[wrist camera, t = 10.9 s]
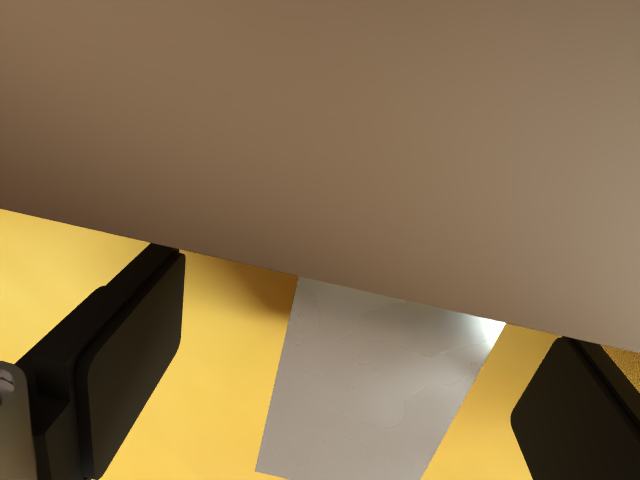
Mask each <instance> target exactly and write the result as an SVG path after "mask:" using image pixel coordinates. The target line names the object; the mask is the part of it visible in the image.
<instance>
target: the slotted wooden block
mask: <svg viewBox="0 0 640 480" xmlns="http://www.w3.org/2000/svg"><path fill="white" fill-rule="evenodd" d="M0 209H4V210H9V211H13V212H18V213H22V214H26V215H31V216H35V217H40V218H44V219H49V220H53V221H57V222H62V223H66V224H71V225H75V226H79V227H84V228H88V229H93V230H97V231H102V232H106V233H110V234H115V235H119V236H124V237H128V238H132V239H137V240H141V241H146V242H150V243H155V244H159V245H163V246H168V247H172V248H177V249H181V250H185V251H190V252H194V253H199V254H203V255H208V256H212V257H216V258H221V259H225V260H230V261H234V262H239V263H243V264H247V265H252V266H256V267H261V268H265V269H269V270H274V271H278V272H283V273H287V274H292V275H296V276H300V277H305V278H309V279H314V280H318V281H322V282H327V283H331V284H336V285H340V286H345V287H349V288H353V289H358V290H362V291H367V292H371V293H375V294H380V295H384V296H389V297H393V298H398V299H402V300H406V301H411V302H415V303H420V304H424V305H428V306H433V307H437V308H442V309H446V310H451V311H455V312H459V313H464V314H468V315H473V316H477V317H481V318H486V319H490V320H495V321H499V322H504V323H508V324H512V325H517V326H521V327H526V328H530V329H534V330H539V331H543V332H548V333H552V334H557V335H561V336H565V337H570V338H574V339H579V340H583V341H587V342H592V343H596V344H601V345H605V346H610V347H614V348H618V349H623V350H627V351H632V352H636V353H640V0H0Z"/></svg>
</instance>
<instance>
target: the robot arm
mask: <svg viewBox="0 0 640 480" xmlns="http://www.w3.org/2000/svg"><path fill="white" fill-rule="evenodd" d="M184 276H185V255H184V254H182V253H179V249H177V248H172V247H168V246H163V245H159V244H155V243H151V244H149V245H148V246H147V247H146V248H145V249H144V250H143V251H142V252H141V253H140V254H139V255H138V256H137V257H136V258H134V259H133V260H132V261H131V262H130V263H129V264H128V265H127V266H126V267H125V268H124V269H123V270H122V271H121V272H120V273H118V274H117V275H116V276H115V277H114V278H113V279H112V280H111V281H110V282H109V283H108V284H107V285H106V286H101V287H99V288H98V289H96V290H95V291H94V292H93V293H91V294H90V295H89V296H88V297H87V298H86V299H85V300H84V301H83V302H82V303H81V304H79V305H78V306H77V307H76V308H75V309H74V310H73V311H72V312H71V313H70V314H69V315H67V316H66V317H65V318H64V319H63V320H62V321H61V322H60V323H59V324H58V325H57V326H55V327H54V328H53V329H52V330H51V331H50V332H49V333H48V334H47V335H46V336H45V337H43V338H42V339H41V340H40V341H39V342H38V343H37V344H36V345H35V346H34V347H33V348H31V349H30V350H29V351H28V352H27V353H26V354H25V355H24V356H23V357H22V358H21V359H19V360H18V361H17V362H16V363H15V364H11V363H8V362H4V361H0V480H91V479H94V480H98V479H100V478H101V477H102V476H103V474H104V473H105V471H106V469H107V468H108V466H109V464H110V463H111V461H112V459H113V458H114V456H115V454H116V453H117V451H118V449H119V448H120V446H121V444H122V443H123V441H124V439H125V438H126V436H127V434H128V433H129V431H130V429H131V428H132V426H133V424H134V423H135V421H136V419H137V418H138V416H139V414H140V413H141V411H142V409H143V408H144V406H145V404H146V403H147V401H148V399H149V398H150V396H151V394H152V393H153V391H154V389H155V388H156V386H157V384H158V383H159V381H160V379H161V378H162V376H163V374H164V373H165V371H166V369H167V368H168V366H169V364H170V363H171V361H172V359H173V358H174V356H175V354H176V352H177V350H178V348H179V344H180V340H181V325H182V309H183V293H184ZM511 426H512V429H513V432H514V434H515V437H516V439H517V441H518V444H519V446H520V449H521V451H522V454H523V456H524V459H525V461H526V463H527V466H528V468H529V471H530V473H531V476H532V478H533V480H640V393H639V392H638V391H637V390H636V388H635V387H634V386H633V385H632V383H631V382H630V381H629V380H628V379H627V377H626V376H625V375H624V374H623V372H622V371H621V370H620V369H619V368H618V366H617V365H616V364H615V363H614V362H613V360H612V359H611V358H610V357H609V355H608V354H607V353H606V352H605V351H604V349H603V348H602V347H601V346H600V344H596V343H592V342H587V341H583V340H579V339H574V338H570V337H565V336H563V337H562V338H558V339H556V340H555V341H554V343H553V344H552V346H551V348H550V349H549V351H548V353H547V354H546V356H545V358H544V359H543V361H542V363H541V364H540V366H539V368H538V369H537V371H536V373H535V374H534V376H533V378H532V379H531V381H530V383H529V384H528V386H527V388H526V389H525V391H524V393H523V394H522V396H521V398H520V399H519V401H518V403H517V404H516V406H515V407H514V409H513V411H512V413H511Z"/></svg>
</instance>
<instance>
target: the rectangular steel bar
mask: <svg viewBox="0 0 640 480" xmlns="http://www.w3.org/2000/svg"><path fill="white" fill-rule="evenodd" d="M504 325H505V323H504V322H499V321H495V320H490V319H486V318H481V317H477V316H473V315H468V314H464V313H459V312H455V311H451V310H446V309H442V308H437V307H433V306H428V305H424V304H420V303H415V302H411V301H406V300H402V299H398V298H393V297H389V296H384V295H380V294H375V293H371V292H367V291H362V290H358V289H353V288H349V287H345V286H340V285H336V284H331V283H327V282H322V281H318V280H314V279H309V278H305V277H300V276H299V278H298V282H297V287H296V291H295V295H294V300H293V304H292V309H291V313H290V318H289V322H288V326H287V331H286V335H285V340H284V344H283V349H282V353H281V358H280V362H279V366H278V371H277V375H276V380H275V384H274V389H273V393H272V397H271V402H270V406H269V411H268V415H267V420H266V424H265V429H264V433H263V437H262V442H261V446H260V451H259V455H258V460H257V464H256V468H255V471H256V472H260V473H264V474H269V475H273V476H277V477H282V478H286V479H290V480H420V479H421V478H422V476H423V474H424V472H425V470H426V468H427V467H428V465H429V463H430V461H431V459H432V457H433V456H434V454H435V452H436V450H437V448H438V446H439V445H440V443H441V441H442V439H443V437H444V435H445V434H446V432H447V430H448V428H449V426H450V424H451V423H452V421H453V419H454V417H455V415H456V413H457V412H458V410H459V408H460V406H461V404H462V402H463V401H464V399H465V397H466V395H467V393H468V391H469V390H470V388H471V386H472V384H473V382H474V380H475V379H476V377H477V375H478V373H479V371H480V369H481V368H482V366H483V364H484V362H485V360H486V358H487V356H488V355H489V353H490V351H491V349H492V347H493V345H494V344H495V342H496V340H497V338H498V336H499V334H500V333H501V331H502V329H503V327H504Z"/></svg>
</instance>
